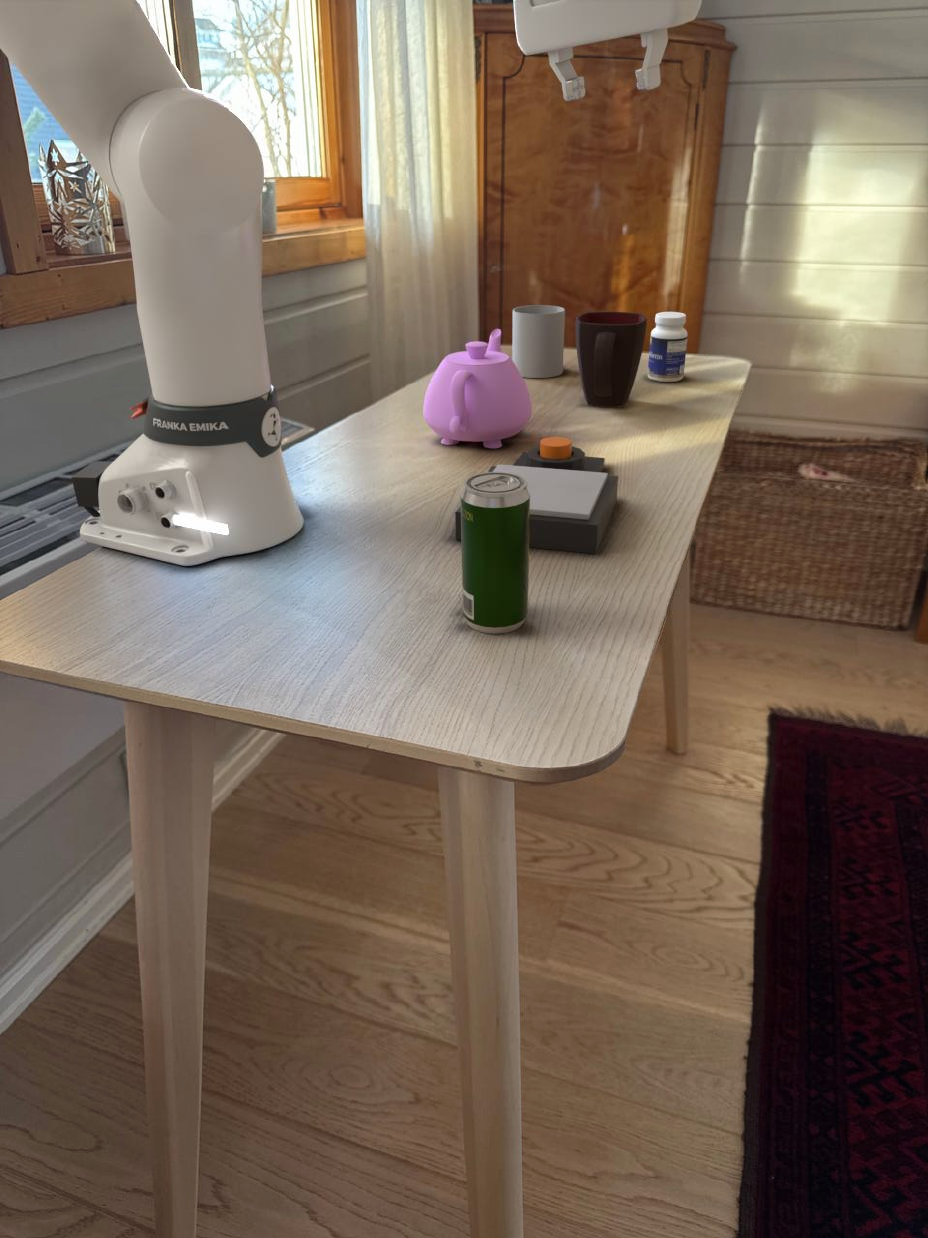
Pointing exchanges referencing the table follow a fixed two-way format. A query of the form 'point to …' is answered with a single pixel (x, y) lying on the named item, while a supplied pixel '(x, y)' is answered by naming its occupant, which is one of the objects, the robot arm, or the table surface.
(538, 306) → the cup
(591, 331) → the mug
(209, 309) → the robot arm
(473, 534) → the beer can
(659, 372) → the pill bottle
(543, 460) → the box
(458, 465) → the table surface
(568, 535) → the scale
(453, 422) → the teapot
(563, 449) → the tare button
